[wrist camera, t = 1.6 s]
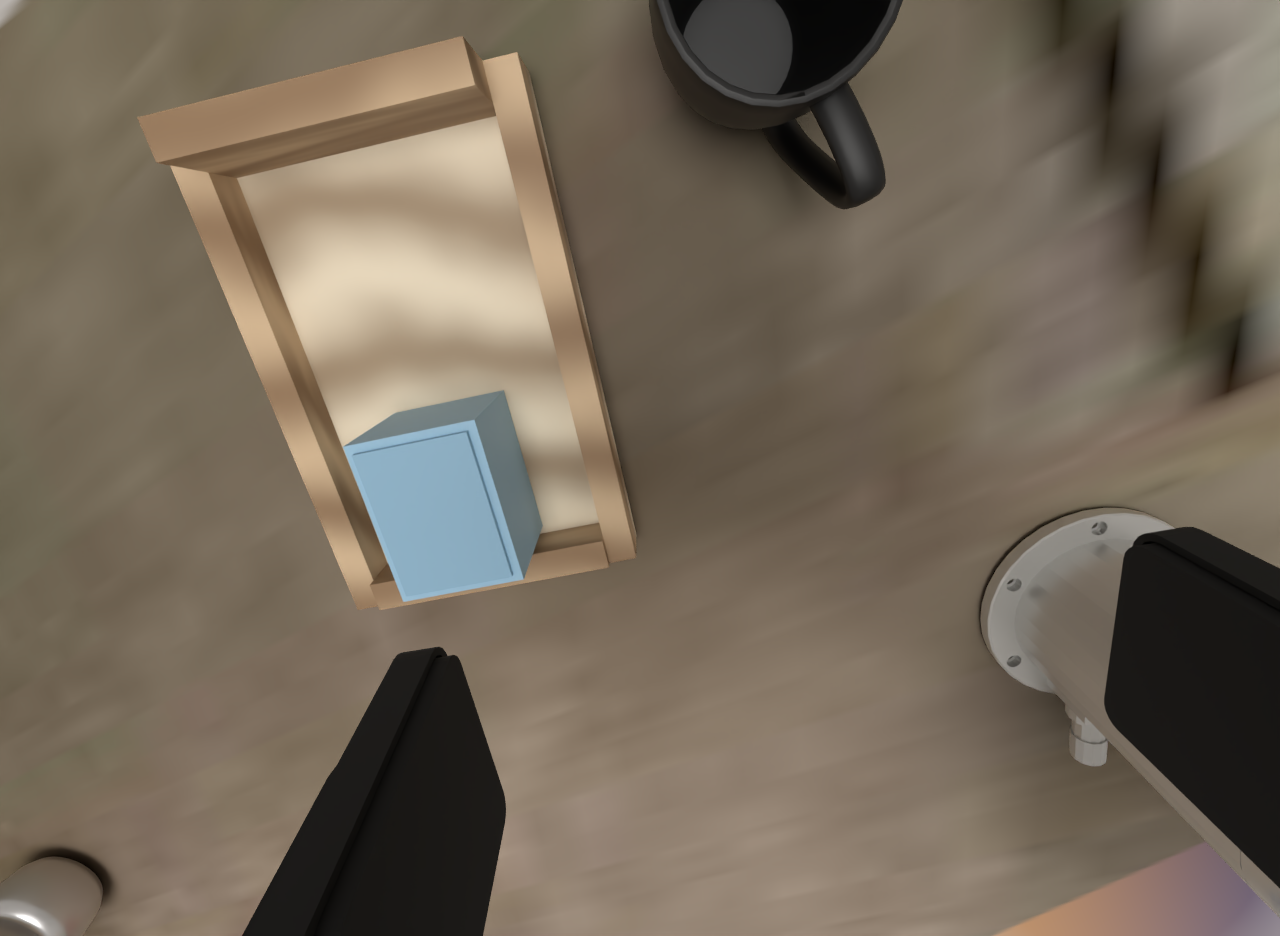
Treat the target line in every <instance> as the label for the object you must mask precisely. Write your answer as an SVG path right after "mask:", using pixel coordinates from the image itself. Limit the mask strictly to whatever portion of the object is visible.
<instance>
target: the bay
mask: <svg viewBox="0 0 1280 936" xmlns="http://www.w3.org/2000/svg"><path fill="white" fill-rule="evenodd" d="M137 118H138V120H139V123H140V125H141V127H142V130H143V132H144V134H145V137H146V139H147V141H148V144H149V146H150V148H151V151H152V153H153V155H154V158H155V160H156V162H157V163H160V164H165V165H170V166H171V168H172V171H173V173H174V175H175V178H176V180H177V183H178V185H179V187H180V190H181V192H182V194H183V197H184V199H185V202H186V204H187V206H188V209H189V211H190V213H191V216H192V218H193V220H194V223H195V225H196V228H197V230H198V232H199V235H200V237H201V239H202V242H203V244H204V246H205V249H206V251H207V254H208V256H209V258H210V261H211V263H212V265H213V268H214V270H215V273H216V275H217V277H218V280H219V282H220V284H221V287H222V289H223V291H224V294H225V296H226V299H227V301H228V303H229V306H230V308H231V310H232V313H233V315H234V318H235V320H236V322H237V325H238V327H239V329H240V332H241V334H242V336H243V339H244V341H245V344H246V346H247V348H248V351H249V353H250V355H251V358H252V360H253V362H254V365H255V367H256V370H257V372H258V374H259V377H260V379H261V381H262V384H263V386H264V389H265V391H266V393H267V396H268V398H269V400H270V403H271V405H272V407H273V410H274V412H275V415H276V417H277V419H278V422H279V424H280V426H281V429H282V431H283V434H284V436H285V438H286V441H287V443H288V445H289V448H290V450H291V452H292V455H293V457H294V460H295V462H296V464H297V467H298V469H299V471H300V474H301V476H302V478H303V481H304V483H305V486H306V488H307V490H308V493H309V495H310V497H311V500H312V502H313V505H314V507H315V509H316V512H317V514H318V516H319V519H320V521H321V523H322V526H323V528H324V531H325V533H326V535H327V538H328V540H329V542H330V545H331V547H332V549H333V552H334V554H335V557H336V559H337V561H338V564H339V566H340V568H341V571H342V573H343V576H344V578H345V580H346V583H347V585H348V587H349V590H350V592H351V594H352V597H353V599H354V602H355V604H356V606H357V609H358V610H360V609H365V608H371V607H376V606H378V607H379V610H383V609H388V608H394V607H399V606H404V605H410V604H415V603H421V602H426V601H431V600H437V599H442V598H447V597H453V596H458V595H464V594H469V593H474V592H480V591H485V590H490V589H496V588H501V587H506V586H512V585H517V584H523V583H528V582H533V581H539V580H544V579H549V578H555V577H560V576H566V575H571V574H576V573H582V572H587V571H592V570H598V569H603V568H608V567H609V563H612V562H617V561H622V560H628V559H633V558H636V530H635V526H634V521H633V517H632V513H631V508H630V504H629V500H628V495H627V491H626V487H625V482H624V478H623V474H622V470H621V465H620V461H619V457H618V452H617V448H616V444H615V439H614V435H613V431H612V426H611V422H610V418H609V413H608V409H607V405H606V401H605V396H604V392H603V388H602V383H601V379H600V375H599V370H598V366H597V362H596V357H595V353H594V349H593V344H592V340H591V336H590V332H589V327H588V323H587V319H586V314H585V310H584V306H583V301H582V297H581V293H580V288H579V284H578V280H577V275H576V271H575V267H574V263H573V258H572V254H571V250H570V245H569V241H568V237H567V232H566V228H565V224H564V219H563V215H562V211H561V206H560V202H559V198H558V193H557V189H556V185H555V181H554V176H553V172H552V168H551V163H550V159H549V155H548V150H547V146H546V142H545V137H544V133H543V129H542V124H541V120H540V116H539V112H538V107H537V103H536V99H535V94H534V90H533V86H532V81H531V77H530V73H529V71H528V69H527V68H526V66H525V64H524V63H523V61H522V59H521V58H520V56H519V54H518V53H517V52H516V53H512V54H508V55H504V56H499V57H495V58H491V59H487V60H483V61H482V60H481V58H480V57H479V56H478V55H477V53H476V52H475V51H474V50H473V49H472V47H471V46H470V45H469V44H468V42H467V41H466V40H465V39H464V37H463V36H460V37H456V38H452V39H448V40H444V41H441V42H437V43H433V44H429V45H425V46H421V47H417V48H413V49H409V50H405V51H401V52H397V53H393V54H389V55H385V56H381V57H377V58H373V59H369V60H365V61H361V62H357V63H353V64H349V65H345V66H341V67H337V68H333V69H329V70H325V71H321V72H317V73H313V74H309V75H305V76H301V77H297V78H293V79H289V80H285V81H281V82H277V83H273V84H269V85H265V86H261V87H257V88H253V89H249V90H245V91H241V92H237V93H233V94H229V95H225V96H221V97H217V98H213V99H209V100H205V101H201V102H197V103H193V104H189V105H185V106H181V107H177V108H173V109H169V110H165V111H161V112H157V113H153V114H149V115H145V116H141V117H137ZM502 390H504V393H505V396H506V400H507V403H508V407H509V410H510V414H511V417H512V421H513V424H514V428H515V431H516V435H517V438H518V442H519V445H520V449H521V452H522V455H523V459H524V462H525V466H526V469H527V473H528V476H529V480H530V483H531V487H532V490H533V494H534V497H535V501H536V504H537V508H538V511H539V515H540V518H541V521H542V525H543V527H542V529H541V532H540V535H539V538H538V541H537V544H536V546H535V549H534V552H533V555H532V558H531V561H530V563H529V566H528V569H527V572H526V575H525V578H524V580H519V581H513V582H508V583H502V584H497V585H492V586H486V587H481V588H476V589H470V590H465V591H460V592H454V593H449V594H444V595H438V596H433V597H427V598H422V599H417V600H411V601H406V602H403V600H402V597H401V595H400V592H399V589H398V587H397V584H396V582H395V579H394V577H393V574H392V572H391V569H390V566H389V564H388V561H387V559H386V556H385V554H384V551H383V549H382V546H381V543H380V541H379V538H378V536H377V533H376V531H375V528H374V526H373V523H372V520H371V518H370V515H369V513H368V510H367V508H366V505H365V503H364V500H363V497H362V495H361V492H360V490H359V487H358V485H357V482H356V480H355V477H354V474H353V472H352V469H351V467H350V464H349V462H348V459H347V457H346V454H345V451H344V449H343V446H345V445H346V444H348V443H349V442H351V441H352V440H354V439H356V438H357V437H359V436H360V435H362V434H363V433H365V432H366V431H368V430H369V429H371V428H372V427H374V426H376V425H377V424H379V423H380V422H382V421H383V420H385V419H386V418H388V417H389V416H391V415H393V414H394V413H397V412H402V411H407V410H411V409H416V408H421V407H426V406H430V405H435V404H440V403H445V402H450V401H454V400H459V399H464V398H469V397H474V396H478V395H483V394H488V393H493V392H498V391H502Z"/></svg>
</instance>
